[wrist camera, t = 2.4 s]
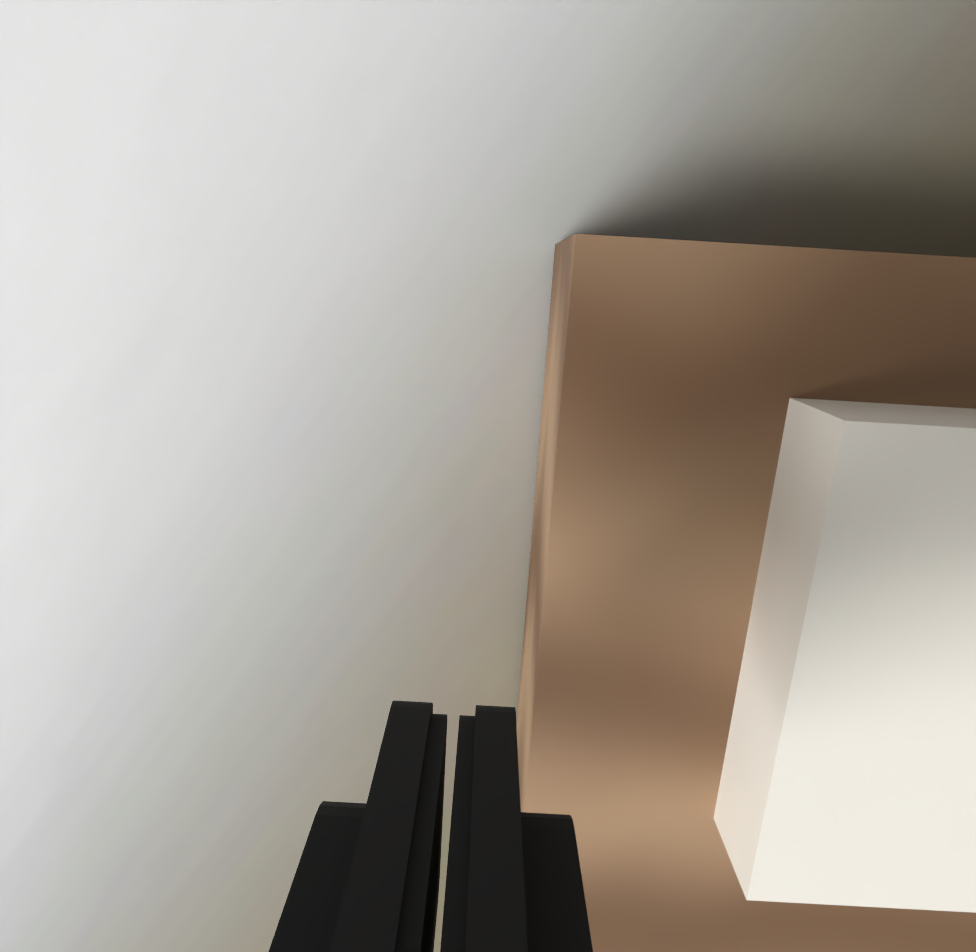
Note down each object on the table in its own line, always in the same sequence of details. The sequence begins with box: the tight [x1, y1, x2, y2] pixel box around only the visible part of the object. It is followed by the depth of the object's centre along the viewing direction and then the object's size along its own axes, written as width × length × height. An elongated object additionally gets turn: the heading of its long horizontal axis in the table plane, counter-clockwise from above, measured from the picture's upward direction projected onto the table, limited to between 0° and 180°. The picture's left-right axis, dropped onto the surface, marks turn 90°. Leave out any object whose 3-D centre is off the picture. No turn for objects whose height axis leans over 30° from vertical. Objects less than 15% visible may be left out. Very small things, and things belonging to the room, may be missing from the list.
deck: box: [516, 234, 976, 952], centre depth 16 cm, size 16×18×4 cm
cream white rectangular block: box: [714, 398, 976, 913], centre depth 12 cm, size 9×6×2 cm, turn 177°
